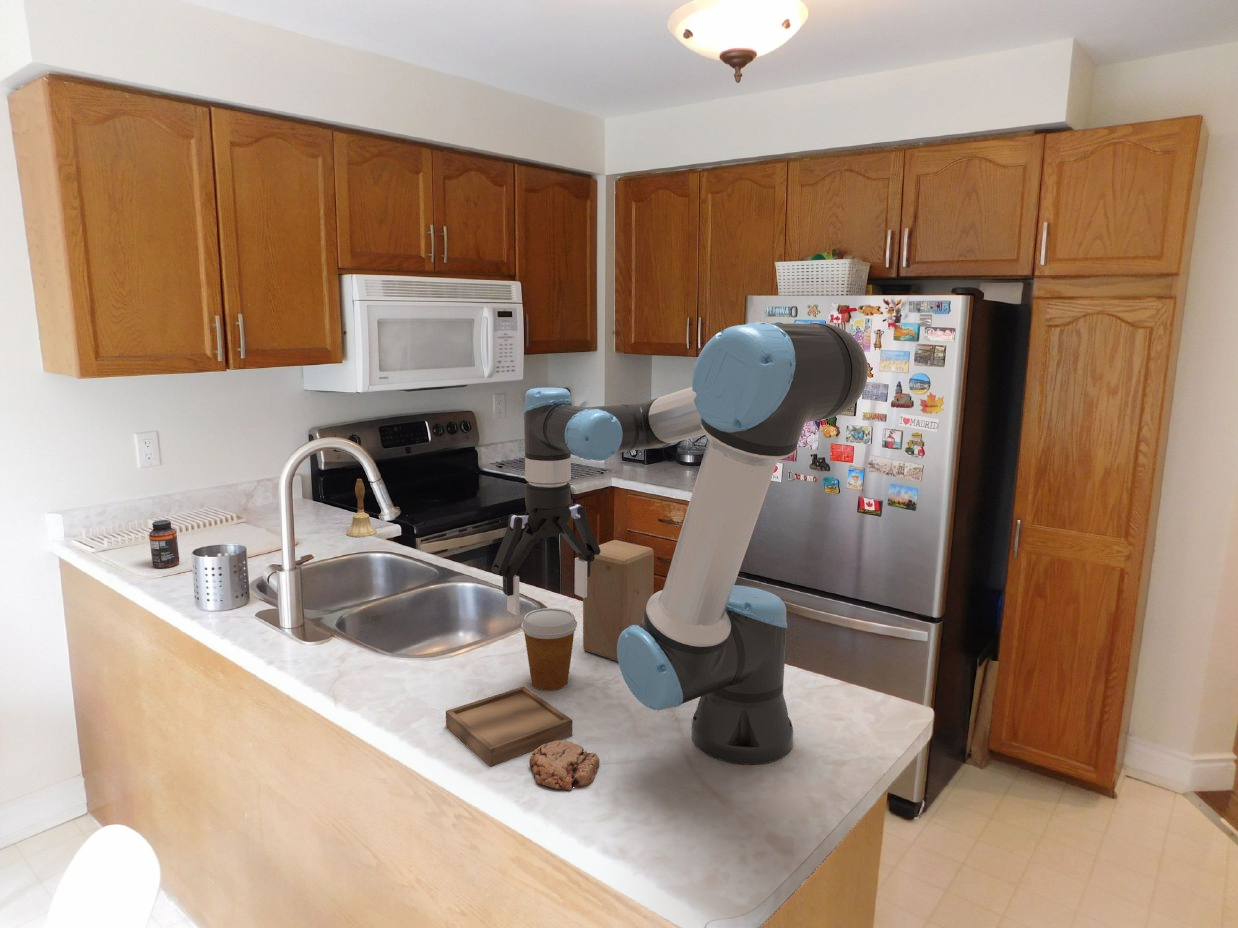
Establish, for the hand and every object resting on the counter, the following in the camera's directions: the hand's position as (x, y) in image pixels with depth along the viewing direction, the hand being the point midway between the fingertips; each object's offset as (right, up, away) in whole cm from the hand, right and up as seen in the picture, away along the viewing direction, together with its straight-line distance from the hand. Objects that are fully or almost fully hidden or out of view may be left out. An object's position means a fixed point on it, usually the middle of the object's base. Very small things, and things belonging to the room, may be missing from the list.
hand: (548, 603), depth 138 cm
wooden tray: (-5, -17, -14) cm, 22 cm away
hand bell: (-62, +4, +95) cm, 113 cm away
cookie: (+4, -20, -24) cm, 31 cm away
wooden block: (+12, -12, +16) cm, 23 cm away
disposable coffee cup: (0, -14, +2) cm, 14 cm away
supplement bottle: (-101, -2, +65) cm, 120 cm away
